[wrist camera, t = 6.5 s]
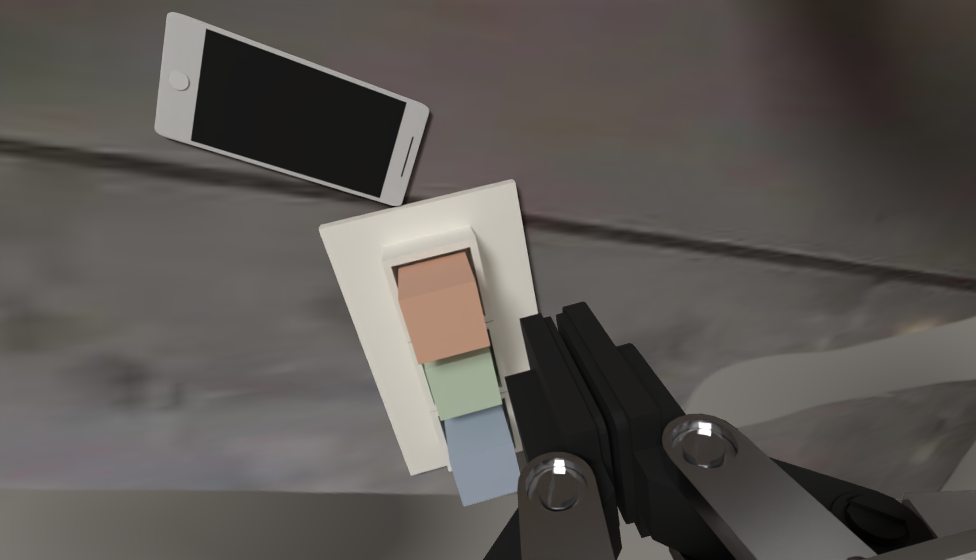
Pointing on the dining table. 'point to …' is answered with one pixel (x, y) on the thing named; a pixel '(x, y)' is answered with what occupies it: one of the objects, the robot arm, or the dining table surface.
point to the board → (378, 317)
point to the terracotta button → (441, 307)
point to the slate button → (482, 455)
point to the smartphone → (285, 112)
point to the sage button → (463, 383)
